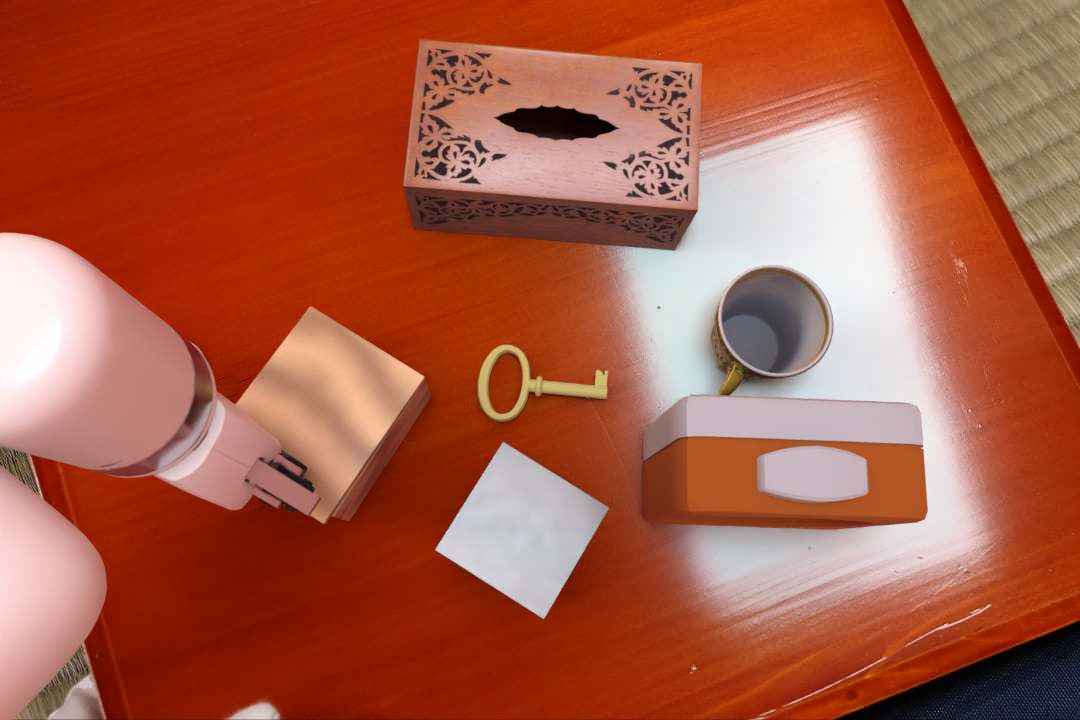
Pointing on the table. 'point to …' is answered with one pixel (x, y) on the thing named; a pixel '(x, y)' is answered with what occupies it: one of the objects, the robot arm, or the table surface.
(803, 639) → the table surface
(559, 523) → the stand
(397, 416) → the lid
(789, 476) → the orange white box
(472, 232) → the tissue box cover
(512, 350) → the key
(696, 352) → the table surface
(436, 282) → the table surface
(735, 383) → the ceramic cup
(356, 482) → the chest
